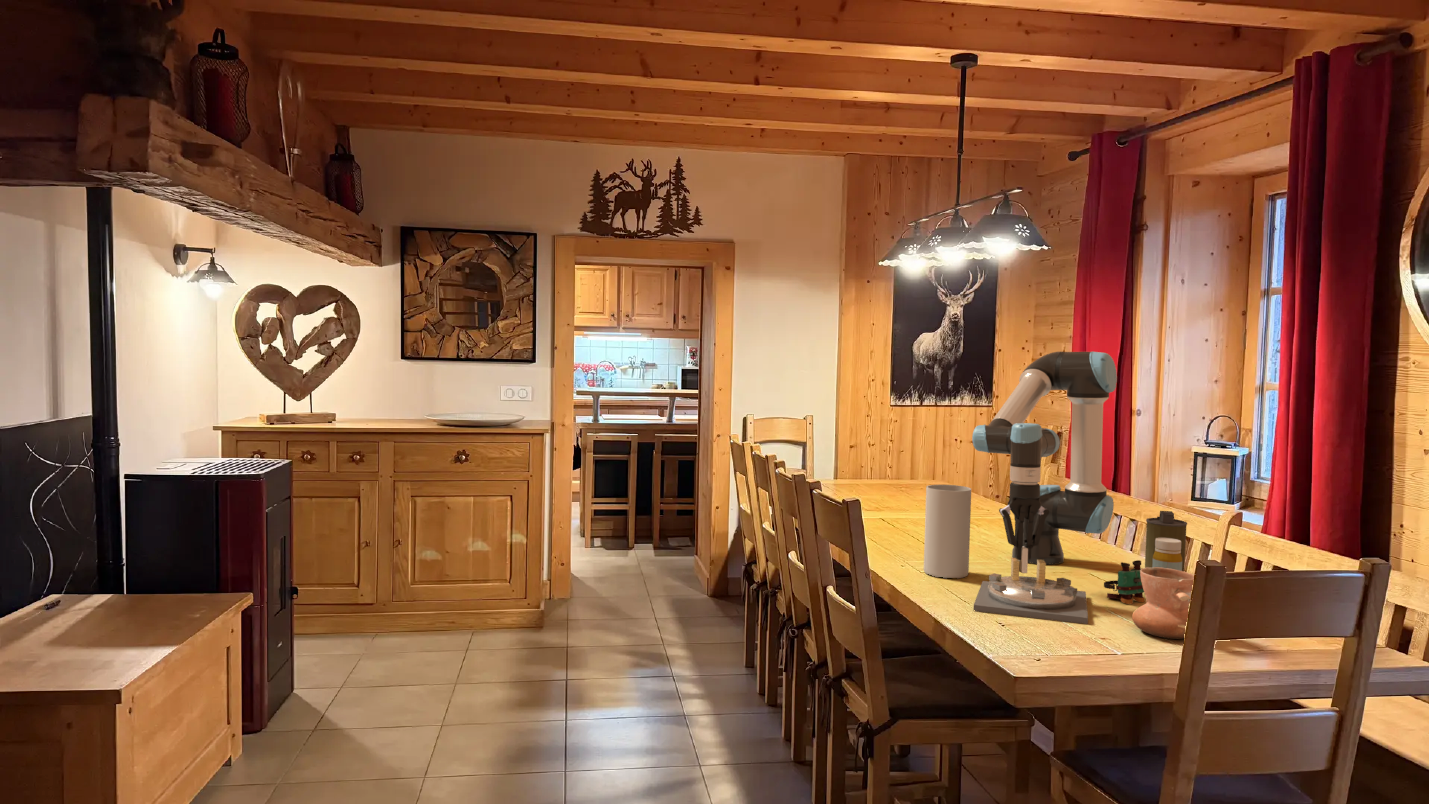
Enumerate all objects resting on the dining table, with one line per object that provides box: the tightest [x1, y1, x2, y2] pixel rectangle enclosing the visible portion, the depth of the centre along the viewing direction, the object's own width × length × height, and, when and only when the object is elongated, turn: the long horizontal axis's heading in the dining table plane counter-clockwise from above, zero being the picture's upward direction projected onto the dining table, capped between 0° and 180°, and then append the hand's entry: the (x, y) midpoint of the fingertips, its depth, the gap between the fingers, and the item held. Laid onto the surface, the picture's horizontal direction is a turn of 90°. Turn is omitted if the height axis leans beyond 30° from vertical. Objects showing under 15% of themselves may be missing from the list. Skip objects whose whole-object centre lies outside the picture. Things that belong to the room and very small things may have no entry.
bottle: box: [1152, 538, 1182, 571], centre depth 239 cm, size 7×7×15 cm
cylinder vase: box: [923, 484, 972, 579], centre depth 258 cm, size 12×12×25 cm
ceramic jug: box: [1131, 567, 1195, 640], centre depth 206 cm, size 18×14×14 cm
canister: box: [1144, 510, 1188, 572], centre depth 254 cm, size 11×10×20 cm
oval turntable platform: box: [988, 557, 1078, 610], centre depth 229 cm, size 21×21×8 cm
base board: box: [973, 580, 1089, 625], centre depth 229 cm, size 26×26×2 cm
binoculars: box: [1103, 559, 1146, 605], centre depth 235 cm, size 9×11×10 cm
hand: (1022, 571), depth 236 cm, fingers closed
